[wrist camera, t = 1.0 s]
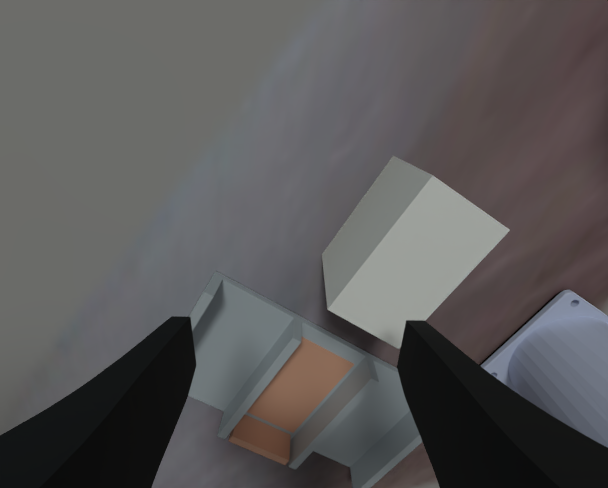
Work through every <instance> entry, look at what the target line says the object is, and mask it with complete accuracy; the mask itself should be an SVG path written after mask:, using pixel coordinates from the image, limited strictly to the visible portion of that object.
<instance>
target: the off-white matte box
mask: <svg viewBox="0 0 608 488" xmlns="http://www.w3.org/2000/svg"><path fill="white" fill-rule="evenodd" d="M509 231H510V230H509V229H508V228H506V227H505V226H504V225H502V224H501V223H499V222H498V221H496V220H495V219H494V218H492V217H491V216H489V215H488V214H487V213H485V212H484V211H482V210H481V209H479V208H478V207H477V206H475V205H474V204H472V203H471V202H470V201H468V200H467V199H465V198H464V197H463V196H461V195H460V194H458V193H457V192H455V191H454V190H453V189H451V188H450V187H448V186H447V185H446V184H444V183H443V182H441V181H440V180H438V179H437V178H436V177H434V176H433V175H431V174H429V173H427V172H425V171H423V170H421V169H419V168H417V167H415V166H413V165H411V164H409V163H407V162H405V161H403V160H401V159H399V158H397V157H395V156H393V157H392V158H391V160H390V161H389V162H388V164H387V165H386V167H385V168H384V169H383V171H382V172H381V174H380V175H379V176H378V178H377V179H376V180H375V182H374V183H373V185H372V186H371V187H370V189H369V190H368V192H367V193H366V194H365V196H364V197H363V198H362V200H361V201H360V203H359V204H358V205H357V207H356V208H355V210H354V211H353V212H352V214H351V215H350V216H349V218H348V219H347V221H346V222H345V223H344V225H343V226H342V228H341V229H340V230H339V232H338V233H337V234H336V236H335V237H334V239H333V240H332V241H331V243H330V244H329V246H328V247H327V248H326V250H325V251H324V253H323V254H322V261H323V271H324V281H325V291H326V300H327V310H329V311H331V312H333V313H334V314H336V315H338V316H340V317H342V318H343V319H345V320H347V321H349V322H351V323H352V324H354V325H356V326H358V327H360V328H361V329H363V330H365V331H367V332H369V333H370V334H372V335H374V336H376V337H378V338H379V339H381V340H383V341H385V342H387V343H389V344H390V345H392V346H394V347H396V348H398V349H399V348H400V347H401V344H402V339H403V334H404V329H405V324H406V320H423V321H425V320H426V319H427V318H428V317H429V316H430V315H431V314H432V313H433V312H434V311H435V310H436V309H437V307H438V306H439V305H440V304H441V303H442V302H443V301H444V300H445V299H446V298H447V297H448V296H449V295H450V294H451V293H452V291H453V290H454V289H455V288H456V287H457V286H458V285H459V284H460V283H461V282H462V281H463V280H464V279H465V278H466V277H467V276H468V274H469V273H470V272H471V271H472V270H473V269H474V268H475V267H476V266H477V265H478V264H479V263H480V262H481V261H482V260H483V258H484V257H485V256H486V255H487V254H488V253H489V252H490V251H491V250H492V249H493V248H494V247H495V246H496V245H497V244H498V242H499V241H500V240H501V239H502V238H503V237H504V236H505V235H506V234H507V233H508V232H509Z"/></svg>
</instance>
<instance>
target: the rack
mask: <svg viewBox="0 0 608 488" xmlns="http://www.w3.org/2000/svg"><path fill="white" fill-rule="evenodd" d="M189 317H191V325H192V333H193V341H194V349H195V357H196V369H195V373H194V376H193V380H192V384H191V387H190V391H189V394H188V396H190V397H192V398H195V399H197V400H199V401H201V402H204V403H206V404H208V405H210V406H213V407H215V408H217V409H219V410H222V411H224V413H223V417H222V420H221V424H220V427H219V431H218V435H217V437H220V438H222V439H224V440H225V439H226V437H227V436H228V435H229V434H230V437H229V442H231V443H234V444H236V445H238V446H241V447H243V448H245V449H248V450H250V451H253V452H255V453H257V454H260V455H262V456H264V457H267V458H269V459H271V460H274V461H276V462H278V463H281V464H283V465H286V464H287V463H288V461H289V466H288V467H290V468H293V469H295V470H296V469H297V468H298V467H299V466H300V465H301V463H302V462H303V461H304V460H305V459H306V458H307V457H308V456H309V455H310V454H311V453H312V452H313V451H314V452H316V453H319V454H321V455H323V456H325V457H328V458H330V459H332V460H334V461H337V462H339V463H341V464H343V465H346V466H348V467H350V471H351V479H352V488H370V487H372V486H373V485H374V484H375V483H376V482H377V481H378V480H380V479H381V478H382V477H383V476H384V475H385V474H386V473H387V472H389V471H390V470H391V469H392V468H393V467H394V466H395V465H397V464H398V463H399V462H400V461H401V460H402V459H403V458H405V457H406V456H407V455H408V454H409V453H410V452H411V451H412V450H414V449H415V448H416V447H417V446H418V445H419V444H420V443H422V442H423V441H422V439H421V436H420V434H419V431H418V429H417V427H416V424H415V422H414V419H413V416H412V414H411V411H410V409H409V406H408V404H407V401H406V398H405V396H404V392H403V388H402V385H401V381H400V377H399V373H398V369H397V368H396V367H394V366H392V365H390V364H388V363H386V362H384V361H382V360H381V359H379V358H377V357H375V356H373V355H371V354H369V353H368V352H366V351H364V350H362V349H360V348H358V347H356V346H355V345H353V344H351V343H349V342H347V341H345V340H343V339H342V338H340V337H338V336H336V335H334V334H332V333H330V332H329V331H327V330H325V329H323V328H321V327H319V326H317V325H315V324H314V323H312V322H310V321H308V320H306V319H304V318H302V317H301V316H299V315H297V314H295V313H293V312H291V311H289V310H288V309H286V308H284V307H282V306H280V305H278V304H276V303H275V302H273V301H271V300H269V299H267V298H265V297H263V296H262V295H260V294H258V293H256V292H254V291H252V290H250V289H248V288H247V287H245V286H243V285H241V284H239V283H237V282H235V281H234V280H232V279H230V278H228V277H226V276H224V275H222V274H221V273H219V272H217V271H215V273H214V275H213V277H212V278H211V280H210V282H209V283H208V285H207V287H206V288H205V290H204V292H203V293H202V295H201V297H200V298H199V300H198V302H197V303H196V305H195V307H194V308H193V310H192V312H191V314H190V315H189ZM230 432H231V433H230Z"/></svg>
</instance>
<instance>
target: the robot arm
mask: <svg viewBox="0 0 608 488" xmlns="http://www.w3.org/2000/svg"><path fill="white" fill-rule="evenodd" d="M573 300H574V301H573ZM572 301H573V302H572ZM571 302H572V303H571ZM195 369H196V357H195V349H194V341H193V333H192V325H191V317H171V318H169V319H168V320H167V321H166V322H164V323H163V324H162V325H161V326H159V327H158V328H157V329H156V330H155V331H153V332H152V333H151V334H150V335H149V336H147V337H146V338H145V339H144V340H142V341H141V342H140V343H139V344H137V345H136V346H135V347H134V348H133V349H131V350H130V351H129V352H128V353H126V354H125V355H124V356H123V357H121V358H120V359H119V360H117V361H116V362H115V363H113V364H112V365H110V366H109V367H108V368H106V369H105V370H104V371H102V372H101V373H100V374H98V375H97V376H96V377H94V378H93V379H92V380H90V381H89V382H87V383H86V384H84V385H83V386H82V387H80V388H79V389H77V390H76V391H74V392H73V393H71V394H70V395H68V396H66V397H65V398H63V399H62V400H60V401H59V402H57V403H55V404H54V405H52V406H51V407H49V408H47V409H46V410H44V411H43V412H41V413H39V414H37V415H36V416H34V417H32V418H30V419H29V420H27V421H25V422H23V423H22V424H20V425H18V426H16V427H15V428H13V429H11V430H9V431H7V432H6V433H4V434H2V435H0V488H151V487H152V484H153V481H154V479H155V476H156V473H157V471H158V468H159V465H160V463H161V460H162V458H163V456H164V453H165V451H166V448H167V446H168V443H169V441H170V439H171V436H172V434H173V431H174V429H175V426H176V424H177V422H178V419H179V417H180V414H181V412H182V409H183V407H184V404H185V402H186V399H187V397H188V394H189V391H190V387H191V384H192V380H193V376H194V373H195ZM397 369H398V373H399V377H400V381H401V385H402V388H403V392H404V396H405V398H406V401H407V404H408V406H409V409H410V411H411V414H412V416H413V419H414V422H415V424H416V427H417V429H418V431H419V434H420V436H421V439H422V441H423V444H424V446H425V449H426V451H427V454H428V456H429V459H430V461H431V464H432V466H433V469H434V472H435V475H436V478H437V480H438V483H439V486H440V488H608V316H607V315H606V314H604V313H603V312H601V311H600V310H599V309H597V308H596V307H594V306H593V305H591V304H590V303H588V302H587V301H586V300H584V299H583V298H581V297H580V296H578V295H577V294H575V293H574V292H572V291H571V290H564V291H562V292H560V293H559V294H558V295H557V296H556V297H555V298H554V299H553V300H552V301H550V302H549V303H548V304H547V305H546V306H545V307H544V308H543V309H542V310H541V311H540V312H538V313H537V314H536V315H535V316H534V317H533V318H532V319H531V320H530V321H529V322H528V323H526V324H525V325H524V326H523V327H522V328H521V329H520V330H519V331H518V332H517V333H516V334H514V335H513V336H512V337H511V338H510V339H509V340H508V341H507V342H506V343H505V344H504V345H502V346H501V347H500V348H499V349H498V350H497V351H496V352H495V353H494V354H493V355H492V356H490V357H489V358H488V359H487V360H486V361H485V362H484V363H483V364H482V365H481V366H479V365H478V364H477V363H476V362H474V361H473V360H472V359H471V358H469V357H468V356H467V355H466V354H464V353H463V352H462V351H461V350H460V349H458V348H457V347H456V346H455V345H454V344H452V343H451V342H450V341H449V340H448V339H446V338H445V337H444V336H443V335H442V334H440V333H439V332H438V331H437V330H435V329H434V328H433V327H432V326H431V325H429V324H428V323H427V322H425V321H423V320H406V324H405V329H404V334H403V339H402V344H401V349H400V354H399V360H398V365H397ZM491 373H492V374H491Z"/></svg>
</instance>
